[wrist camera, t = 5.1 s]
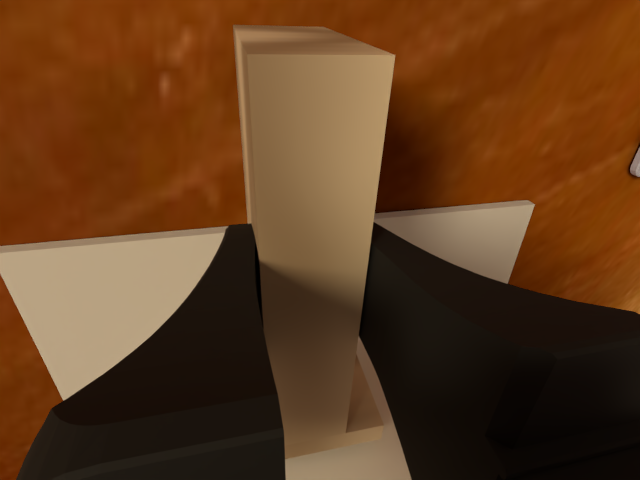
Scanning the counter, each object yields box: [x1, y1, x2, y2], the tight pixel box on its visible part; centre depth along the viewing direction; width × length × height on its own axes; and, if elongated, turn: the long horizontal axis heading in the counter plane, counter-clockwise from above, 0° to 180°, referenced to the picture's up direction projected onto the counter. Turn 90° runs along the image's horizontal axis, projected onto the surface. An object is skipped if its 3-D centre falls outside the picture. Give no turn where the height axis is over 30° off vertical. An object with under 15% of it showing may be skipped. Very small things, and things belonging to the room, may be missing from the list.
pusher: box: [233, 25, 395, 459], centre depth 11 cm, size 5×12×5 cm, turn 179°
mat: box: [0, 200, 535, 401], centre depth 20 cm, size 22×16×1 cm
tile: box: [285, 336, 411, 480], centre depth 15 cm, size 7×2×8 cm, turn 89°
